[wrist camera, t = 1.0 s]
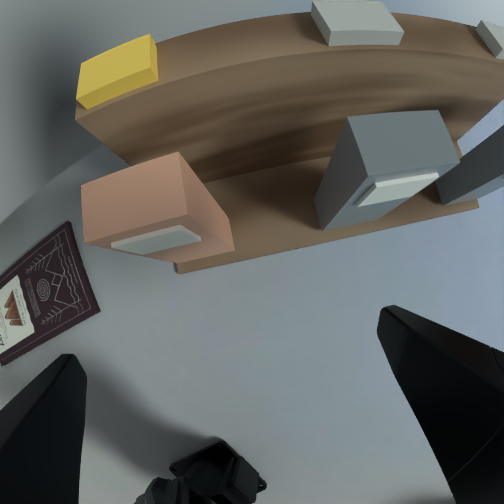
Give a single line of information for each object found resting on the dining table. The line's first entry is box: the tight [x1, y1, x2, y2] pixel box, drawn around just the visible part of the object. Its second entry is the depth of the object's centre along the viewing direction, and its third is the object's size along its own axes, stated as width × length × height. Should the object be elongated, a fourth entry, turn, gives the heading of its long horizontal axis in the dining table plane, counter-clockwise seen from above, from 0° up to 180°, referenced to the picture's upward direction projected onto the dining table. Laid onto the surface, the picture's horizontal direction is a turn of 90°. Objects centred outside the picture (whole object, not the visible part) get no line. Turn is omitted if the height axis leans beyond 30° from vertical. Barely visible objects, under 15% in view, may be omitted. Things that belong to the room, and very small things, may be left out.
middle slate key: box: [314, 110, 460, 232], centre depth 16 cm, size 3×4×12 cm, turn 102°
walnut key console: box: [75, 0, 504, 274], centre depth 16 cm, size 10×27×14 cm, turn 102°
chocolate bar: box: [0, 221, 100, 366], centre depth 24 cm, size 9×1×18 cm
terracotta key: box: [81, 152, 235, 263], centre depth 16 cm, size 3×4×12 cm, turn 102°
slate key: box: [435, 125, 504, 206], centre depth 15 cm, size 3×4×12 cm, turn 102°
